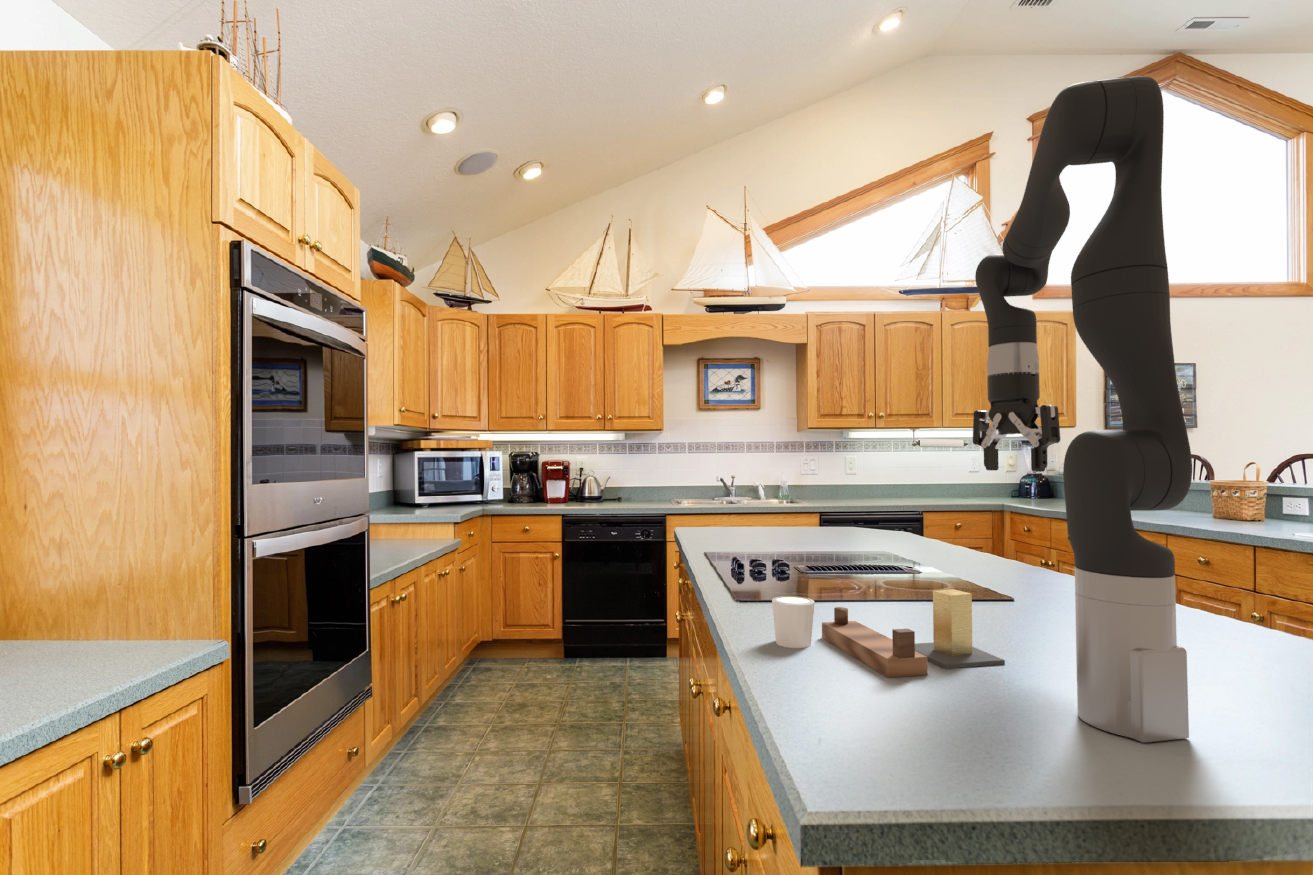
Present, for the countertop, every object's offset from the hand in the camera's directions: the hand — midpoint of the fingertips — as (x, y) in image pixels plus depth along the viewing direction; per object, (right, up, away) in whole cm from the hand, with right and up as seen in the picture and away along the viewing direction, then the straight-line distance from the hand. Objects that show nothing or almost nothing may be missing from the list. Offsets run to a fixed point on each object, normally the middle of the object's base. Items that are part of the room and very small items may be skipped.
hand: (1014, 470), depth 104 cm
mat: (-14, -28, -8) cm, 32 cm away
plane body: (-26, -28, -7) cm, 39 cm away
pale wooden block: (-14, -27, -8) cm, 31 cm away
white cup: (-37, -28, -1) cm, 46 cm away
